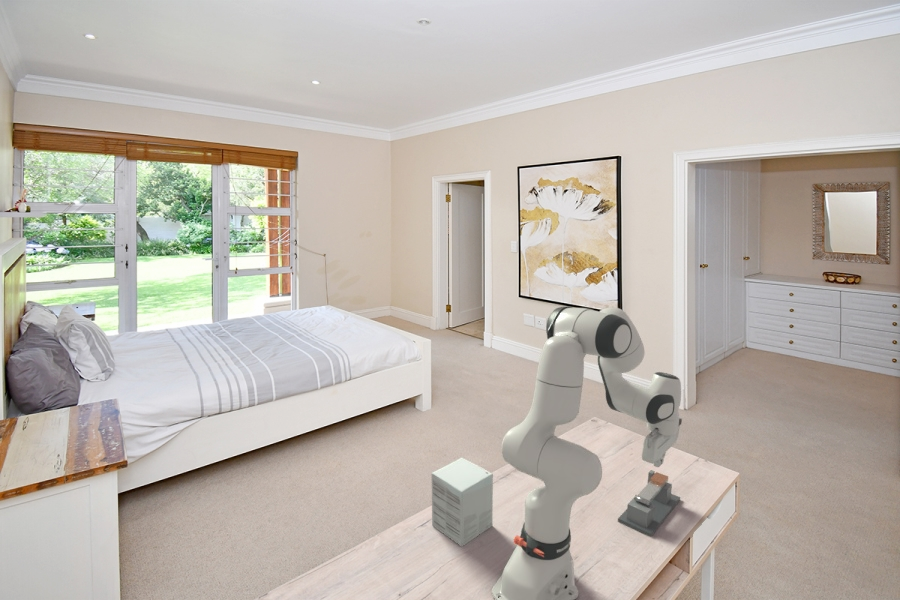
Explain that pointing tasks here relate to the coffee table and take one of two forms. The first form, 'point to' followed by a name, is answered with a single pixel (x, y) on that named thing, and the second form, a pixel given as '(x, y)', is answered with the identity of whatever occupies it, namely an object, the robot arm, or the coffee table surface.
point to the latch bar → (651, 489)
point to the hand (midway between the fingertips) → (658, 464)
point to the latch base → (657, 516)
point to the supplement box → (462, 500)
